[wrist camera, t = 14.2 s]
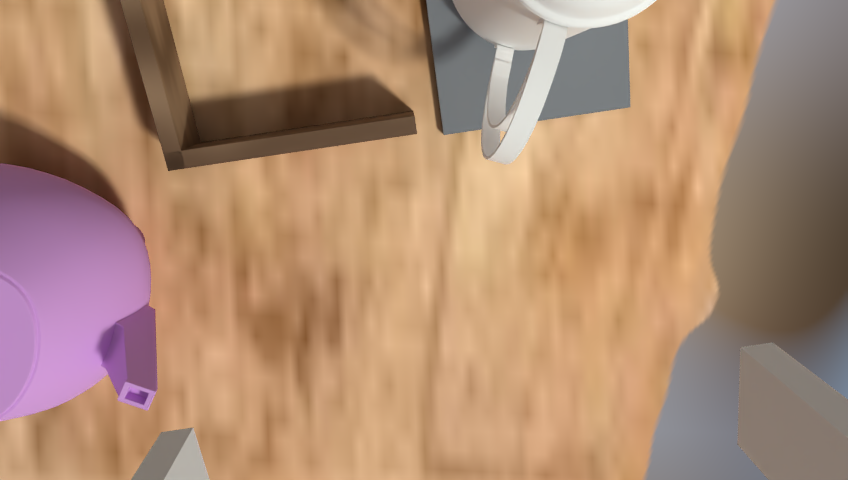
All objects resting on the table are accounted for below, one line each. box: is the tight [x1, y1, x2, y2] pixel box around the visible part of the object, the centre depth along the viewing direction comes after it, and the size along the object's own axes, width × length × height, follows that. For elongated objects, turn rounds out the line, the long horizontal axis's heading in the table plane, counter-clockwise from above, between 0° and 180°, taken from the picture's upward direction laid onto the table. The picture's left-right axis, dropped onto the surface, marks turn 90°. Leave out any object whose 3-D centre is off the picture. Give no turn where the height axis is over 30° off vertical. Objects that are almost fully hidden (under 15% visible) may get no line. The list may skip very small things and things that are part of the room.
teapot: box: [0, 163, 158, 421], centre depth 38 cm, size 20×20×15 cm
